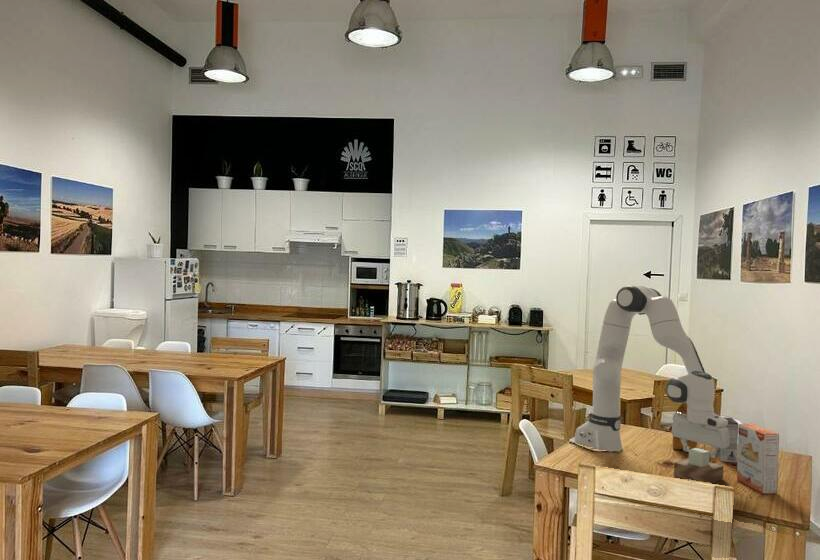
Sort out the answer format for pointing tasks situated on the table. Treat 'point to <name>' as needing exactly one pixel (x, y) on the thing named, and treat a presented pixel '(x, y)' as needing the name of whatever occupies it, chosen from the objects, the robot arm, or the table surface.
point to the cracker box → (758, 458)
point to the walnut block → (698, 471)
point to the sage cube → (698, 457)
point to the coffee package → (677, 441)
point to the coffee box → (731, 451)
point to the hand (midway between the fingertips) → (698, 454)
